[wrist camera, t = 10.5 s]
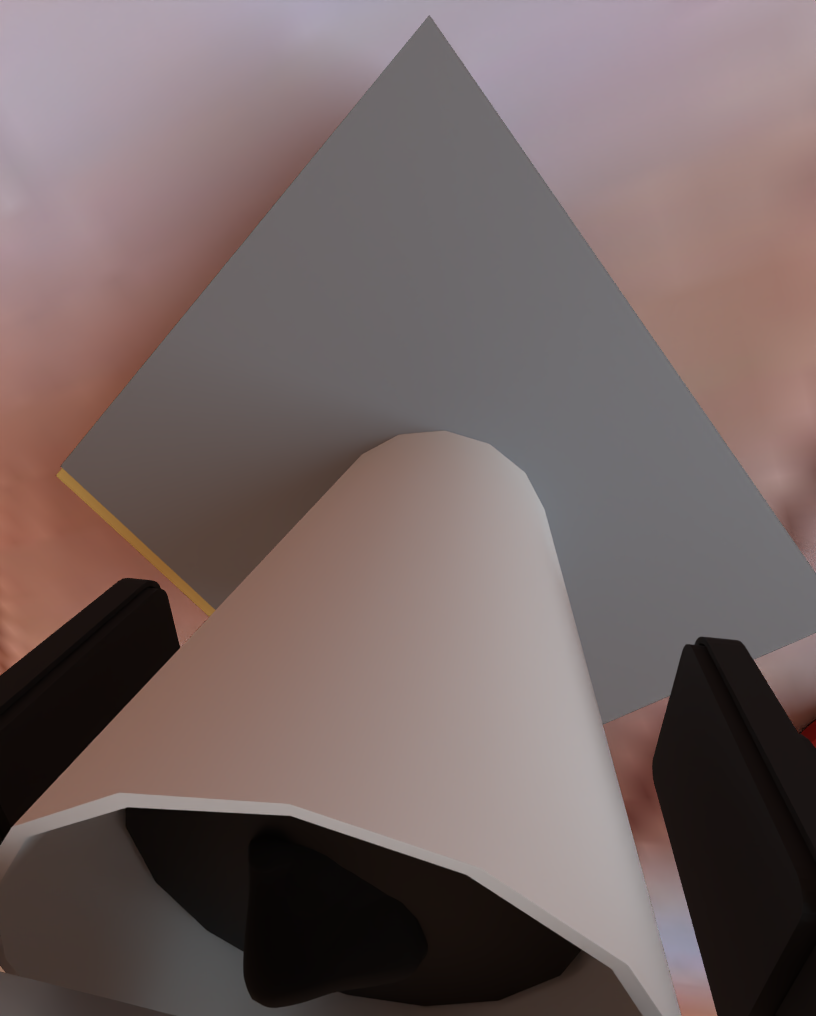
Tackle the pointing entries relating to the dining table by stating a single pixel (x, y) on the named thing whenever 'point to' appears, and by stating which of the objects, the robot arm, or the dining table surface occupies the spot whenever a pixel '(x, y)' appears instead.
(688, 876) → the robot arm
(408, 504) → the white cup
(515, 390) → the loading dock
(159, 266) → the dining table surface
